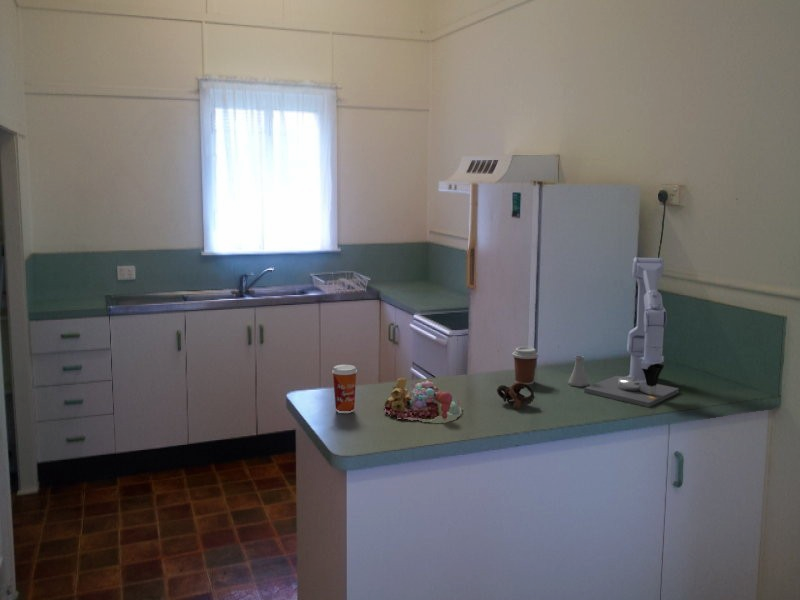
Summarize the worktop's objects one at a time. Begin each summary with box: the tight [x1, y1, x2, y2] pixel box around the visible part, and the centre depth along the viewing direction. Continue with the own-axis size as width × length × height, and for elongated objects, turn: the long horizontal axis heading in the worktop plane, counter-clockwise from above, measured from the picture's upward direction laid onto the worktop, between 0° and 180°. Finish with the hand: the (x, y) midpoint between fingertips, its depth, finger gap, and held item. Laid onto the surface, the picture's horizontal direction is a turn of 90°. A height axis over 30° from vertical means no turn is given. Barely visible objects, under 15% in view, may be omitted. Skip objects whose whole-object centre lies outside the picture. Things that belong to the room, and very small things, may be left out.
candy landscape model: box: [383, 377, 462, 421], centre depth 236 cm, size 25×24×9 cm
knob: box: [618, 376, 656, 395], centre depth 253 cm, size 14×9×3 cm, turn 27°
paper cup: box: [331, 364, 358, 411], centre depth 234 cm, size 8×8×14 cm
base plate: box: [584, 375, 680, 408], centre depth 256 cm, size 22×23×2 cm
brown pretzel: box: [496, 382, 536, 410], centre depth 242 cm, size 12×10×8 cm
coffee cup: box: [511, 346, 540, 386], centre depth 267 cm, size 9×9×12 cm
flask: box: [568, 355, 590, 387], centre depth 264 cm, size 7×7×10 cm
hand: (651, 386), depth 249 cm, fingers closed, pressing on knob
